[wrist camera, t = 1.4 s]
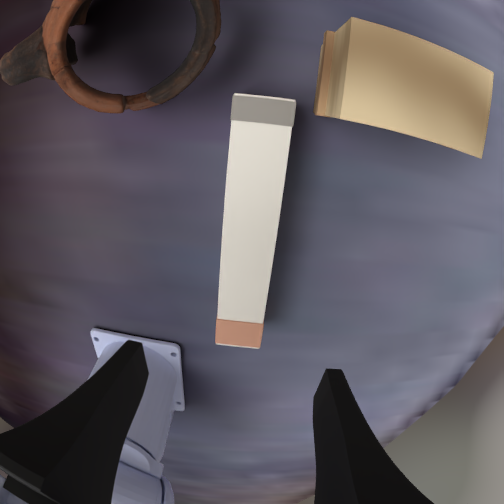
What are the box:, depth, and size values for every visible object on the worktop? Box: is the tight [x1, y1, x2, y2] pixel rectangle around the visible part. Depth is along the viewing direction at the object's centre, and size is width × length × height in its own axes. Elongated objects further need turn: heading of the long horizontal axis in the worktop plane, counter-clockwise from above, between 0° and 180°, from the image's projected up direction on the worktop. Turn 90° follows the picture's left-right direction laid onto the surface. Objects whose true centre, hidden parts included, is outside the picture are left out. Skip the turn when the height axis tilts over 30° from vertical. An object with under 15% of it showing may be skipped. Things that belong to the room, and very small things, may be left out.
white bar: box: [215, 93, 296, 349], centre depth 18 cm, size 15×3×3 cm, turn 174°
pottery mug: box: [0, 0, 221, 113], centre depth 12 cm, size 12×10×8 cm
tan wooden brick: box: [313, 17, 494, 158], centre depth 12 cm, size 4×7×6 cm, turn 84°
